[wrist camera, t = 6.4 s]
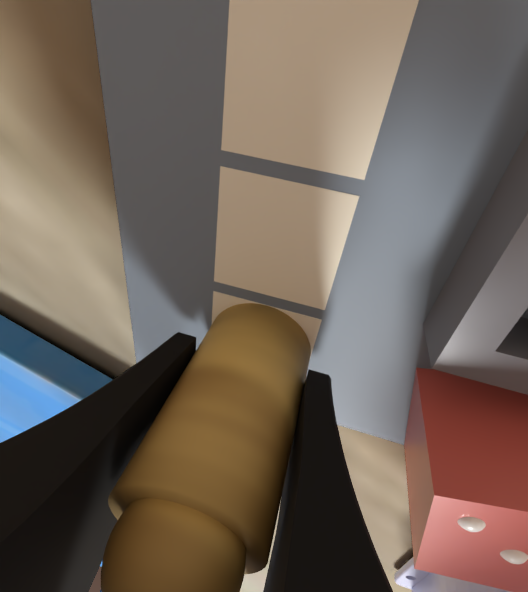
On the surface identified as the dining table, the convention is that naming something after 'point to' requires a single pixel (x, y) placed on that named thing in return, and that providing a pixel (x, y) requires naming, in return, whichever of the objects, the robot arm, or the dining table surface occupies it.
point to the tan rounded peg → (212, 462)
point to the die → (468, 480)
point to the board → (309, 168)
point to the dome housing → (488, 292)
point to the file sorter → (38, 380)
